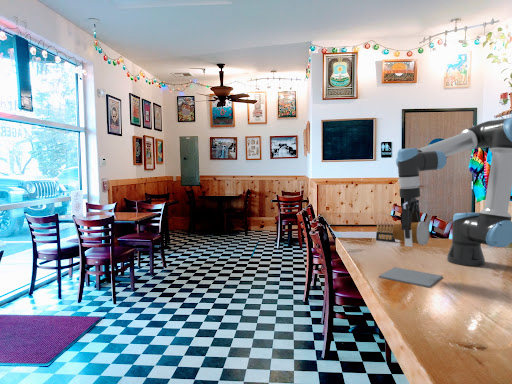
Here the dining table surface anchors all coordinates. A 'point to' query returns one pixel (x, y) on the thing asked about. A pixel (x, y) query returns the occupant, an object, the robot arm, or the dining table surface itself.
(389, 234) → the ammunition clip
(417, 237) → the disposable coffee cup
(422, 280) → the mat
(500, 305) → the dining table surface
